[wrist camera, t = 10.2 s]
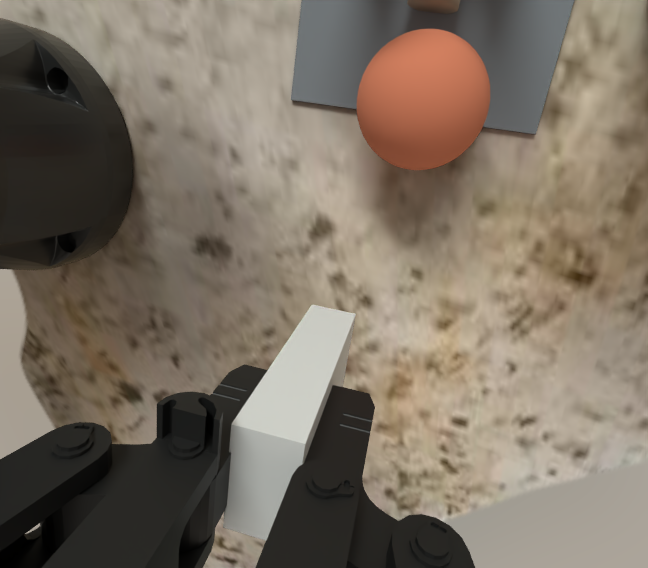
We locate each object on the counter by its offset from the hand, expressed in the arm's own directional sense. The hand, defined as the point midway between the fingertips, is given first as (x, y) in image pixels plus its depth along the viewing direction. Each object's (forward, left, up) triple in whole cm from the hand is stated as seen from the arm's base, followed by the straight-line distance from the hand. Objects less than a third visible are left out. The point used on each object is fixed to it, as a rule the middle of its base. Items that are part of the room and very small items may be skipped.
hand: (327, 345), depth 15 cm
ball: (+1, +9, -9) cm, 13 cm away
